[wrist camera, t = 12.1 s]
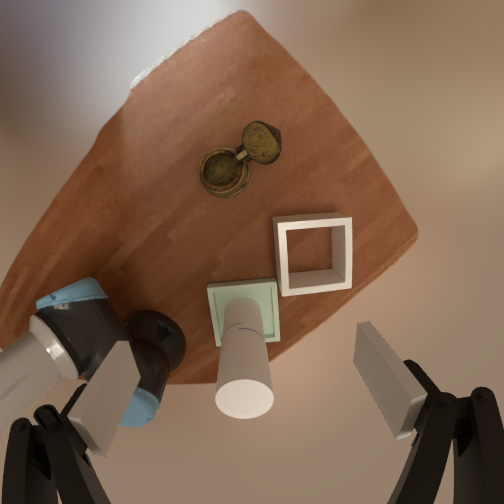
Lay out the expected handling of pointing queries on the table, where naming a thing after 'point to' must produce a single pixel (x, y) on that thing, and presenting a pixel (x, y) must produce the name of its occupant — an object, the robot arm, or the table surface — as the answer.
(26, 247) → the table surface
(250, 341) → the cylindrical container
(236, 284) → the tray
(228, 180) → the wooden mug
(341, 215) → the hollow square frame
